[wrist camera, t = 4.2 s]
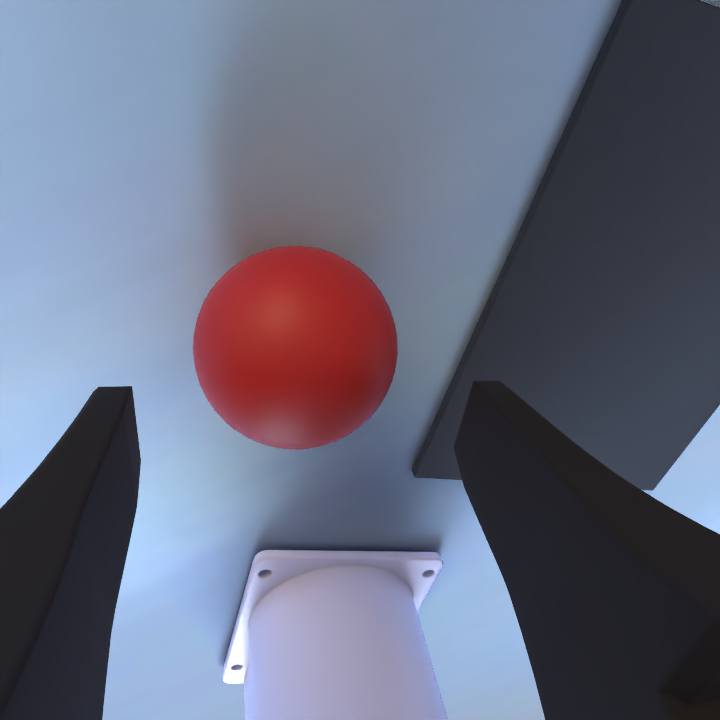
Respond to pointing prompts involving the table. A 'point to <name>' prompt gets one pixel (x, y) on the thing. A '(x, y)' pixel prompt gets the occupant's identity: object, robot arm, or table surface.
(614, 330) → the mat
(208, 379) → the ball
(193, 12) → the table surface
